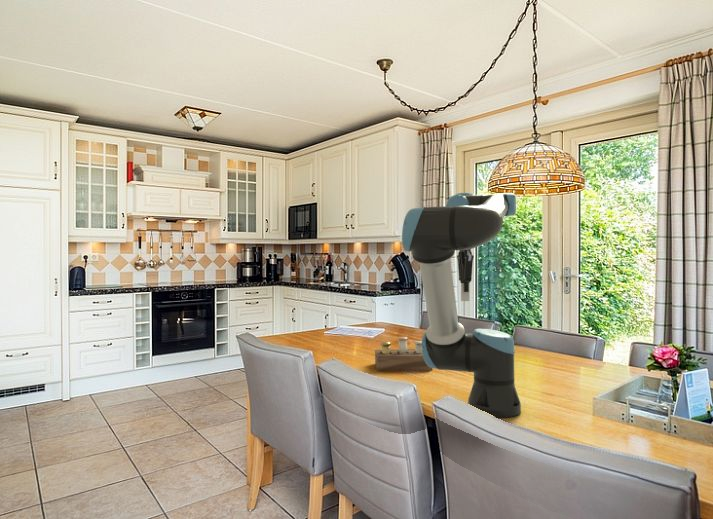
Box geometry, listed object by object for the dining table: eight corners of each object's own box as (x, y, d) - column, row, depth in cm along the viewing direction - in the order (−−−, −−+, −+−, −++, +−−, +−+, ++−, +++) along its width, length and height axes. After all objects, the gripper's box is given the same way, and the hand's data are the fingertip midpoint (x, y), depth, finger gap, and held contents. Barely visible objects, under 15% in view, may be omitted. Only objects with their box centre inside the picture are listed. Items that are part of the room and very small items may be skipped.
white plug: (408, 360, 185) (408, 338, 185) (398, 360, 185) (398, 338, 185) (407, 357, 189) (407, 336, 189) (397, 357, 189) (397, 336, 189)
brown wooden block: (432, 370, 182) (432, 355, 182) (377, 371, 181) (377, 356, 181) (426, 362, 194) (426, 348, 194) (375, 363, 193) (375, 349, 193)
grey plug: (425, 364, 185) (425, 342, 185) (415, 364, 185) (415, 343, 185) (424, 361, 190) (423, 340, 189) (413, 362, 189) (413, 341, 189)
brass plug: (391, 365, 185) (391, 343, 185) (381, 365, 185) (381, 343, 185) (390, 362, 189) (390, 341, 189) (380, 362, 189) (380, 341, 189)
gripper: (480, 235, 159) (481, 302, 159) (469, 236, 172) (470, 299, 172) (459, 235, 159) (459, 302, 159) (450, 236, 172) (450, 299, 172)
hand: (465, 300), depth 166 cm, fingers closed
